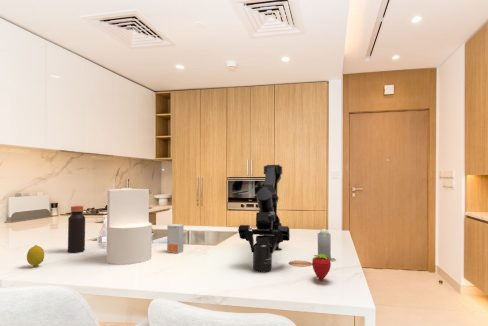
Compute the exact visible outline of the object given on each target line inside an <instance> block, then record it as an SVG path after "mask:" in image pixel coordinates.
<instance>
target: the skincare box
mask: <svg viewBox="0 0 488 326" xmlns="http://www.w3.org/2000/svg"><path fill="white" fill-rule="evenodd" d="M184 227H185V225H184V224H181V223H180V224H179V223H178V224H177V223H172V224H171V223H170V224H168V225H167V230H166V231H167V232H166V235H167V238H166V240H167V243H166V252H167V253H171V252H172V254H180V252H181V253H183V252H184V230H185V229H184Z"/></svg>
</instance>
